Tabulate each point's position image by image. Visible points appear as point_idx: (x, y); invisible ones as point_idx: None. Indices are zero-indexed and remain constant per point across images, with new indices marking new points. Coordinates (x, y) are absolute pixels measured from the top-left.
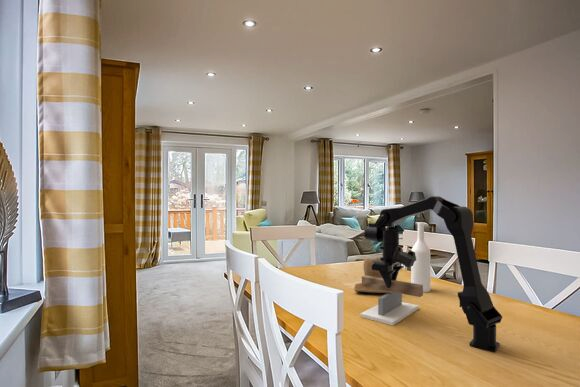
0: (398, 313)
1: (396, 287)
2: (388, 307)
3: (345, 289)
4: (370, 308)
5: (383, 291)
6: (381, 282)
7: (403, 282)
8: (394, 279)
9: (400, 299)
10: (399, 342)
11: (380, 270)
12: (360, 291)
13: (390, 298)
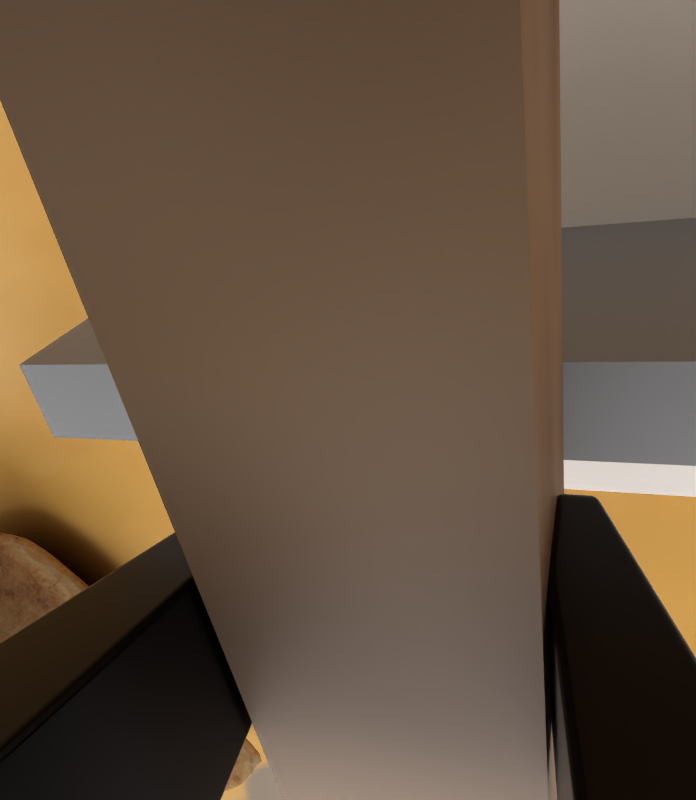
0: (627, 41)
1: (554, 302)
2: (691, 247)
3: (240, 788)
4: (684, 493)
5: (59, 575)
6: (553, 797)
7: (167, 158)
8: (180, 622)
9: None
10: None
11: None
12: None
13: (590, 319)
